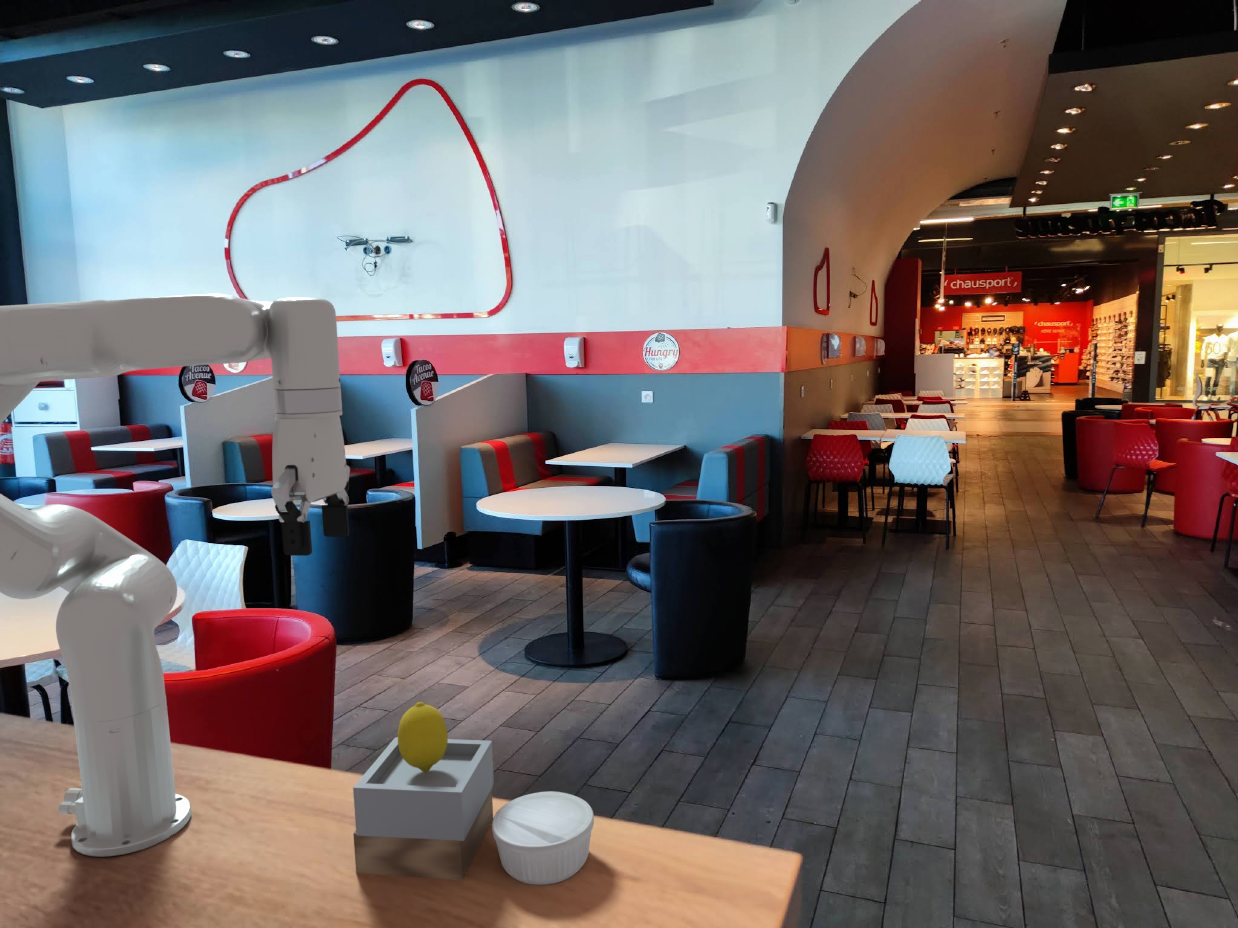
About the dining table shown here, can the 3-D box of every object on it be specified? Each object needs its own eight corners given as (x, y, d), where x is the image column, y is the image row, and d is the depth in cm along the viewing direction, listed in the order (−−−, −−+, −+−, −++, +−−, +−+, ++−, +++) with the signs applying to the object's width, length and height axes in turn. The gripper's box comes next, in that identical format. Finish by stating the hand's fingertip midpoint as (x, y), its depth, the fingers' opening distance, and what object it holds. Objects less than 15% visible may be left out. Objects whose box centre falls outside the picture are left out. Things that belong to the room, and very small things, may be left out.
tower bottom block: (356, 875, 94) (353, 833, 93) (398, 816, 106) (396, 778, 105) (462, 882, 92) (459, 839, 92) (493, 821, 104) (491, 783, 104)
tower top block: (356, 835, 93) (353, 787, 92) (397, 779, 105) (395, 737, 104) (463, 840, 92) (461, 792, 91) (493, 783, 103) (491, 740, 103)
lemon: (441, 779, 95) (434, 707, 95) (393, 782, 95) (386, 710, 96) (456, 762, 100) (450, 693, 100) (411, 764, 101) (405, 696, 101)
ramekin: (485, 892, 90) (483, 845, 90) (502, 832, 101) (500, 790, 101) (591, 892, 90) (590, 845, 89) (597, 832, 101) (596, 790, 100)
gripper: (313, 399, 111) (322, 529, 113) (237, 410, 94) (250, 562, 96) (368, 399, 110) (376, 530, 112) (302, 409, 93) (313, 563, 95)
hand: (318, 545), depth 104 cm, fingers open, 9 cm apart
